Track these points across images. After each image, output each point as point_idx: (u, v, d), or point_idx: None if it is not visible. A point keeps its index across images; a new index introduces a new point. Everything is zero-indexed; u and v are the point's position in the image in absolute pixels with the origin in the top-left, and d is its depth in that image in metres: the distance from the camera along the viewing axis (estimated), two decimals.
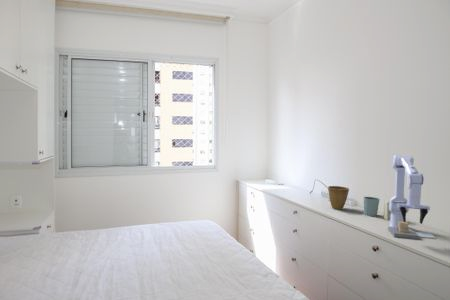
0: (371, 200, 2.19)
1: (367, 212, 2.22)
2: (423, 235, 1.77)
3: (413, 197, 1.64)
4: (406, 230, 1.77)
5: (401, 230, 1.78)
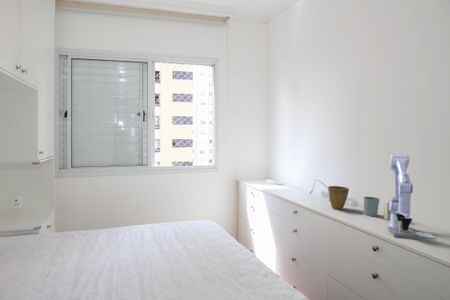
0: (371, 200, 2.19)
1: (367, 212, 2.22)
2: (423, 235, 1.77)
3: (398, 203, 1.80)
4: None
5: (401, 230, 1.78)
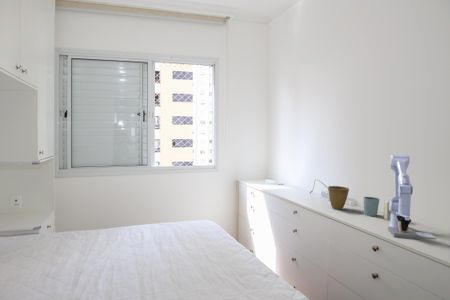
0: (371, 200, 2.19)
1: (367, 212, 2.22)
2: (423, 235, 1.77)
3: (398, 205, 1.81)
4: None
5: (401, 230, 1.78)
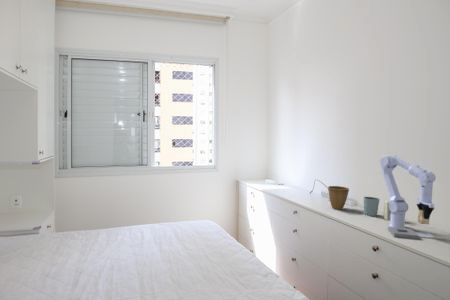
0: (371, 200, 2.19)
1: (367, 212, 2.22)
2: (423, 235, 1.77)
3: None
4: None
5: (423, 219, 1.77)
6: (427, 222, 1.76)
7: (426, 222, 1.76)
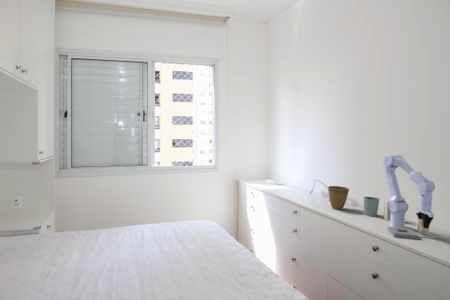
0: (371, 200, 2.19)
1: (367, 212, 2.22)
2: (423, 235, 1.77)
3: (419, 202, 1.79)
4: (427, 228, 1.77)
5: (422, 228, 1.77)
6: (427, 231, 1.77)
7: (426, 231, 1.77)
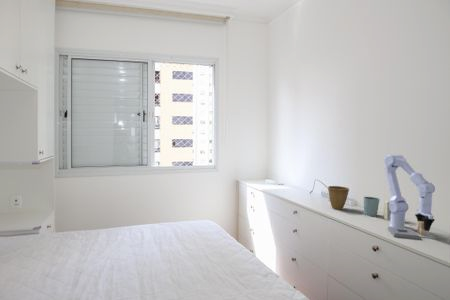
0: (371, 200, 2.19)
1: (367, 212, 2.22)
2: (423, 235, 1.77)
3: (419, 204, 1.79)
4: None
5: (422, 230, 1.77)
6: (426, 233, 1.77)
7: (425, 233, 1.77)
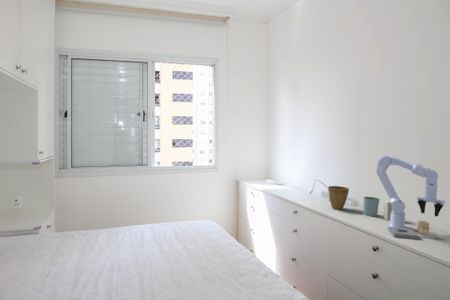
0: (371, 200, 2.19)
1: (367, 212, 2.22)
2: (423, 235, 1.77)
3: (426, 191, 1.84)
4: (427, 230, 1.77)
5: (422, 230, 1.77)
6: (426, 233, 1.77)
7: (425, 233, 1.77)
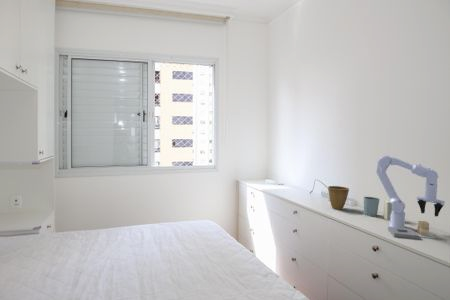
0: (371, 200, 2.19)
1: (367, 212, 2.22)
2: (423, 235, 1.77)
3: (426, 191, 1.84)
4: (427, 230, 1.77)
5: (422, 230, 1.77)
6: (426, 233, 1.77)
7: (425, 233, 1.77)
